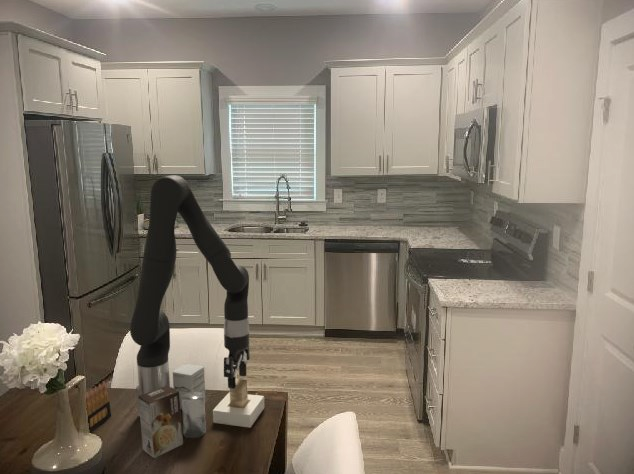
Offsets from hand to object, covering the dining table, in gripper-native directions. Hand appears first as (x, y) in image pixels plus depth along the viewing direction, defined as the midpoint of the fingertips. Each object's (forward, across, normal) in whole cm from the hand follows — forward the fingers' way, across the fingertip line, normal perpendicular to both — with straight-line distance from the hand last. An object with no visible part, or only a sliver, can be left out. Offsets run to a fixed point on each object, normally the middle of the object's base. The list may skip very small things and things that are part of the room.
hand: (237, 381), depth 154 cm
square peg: (+11, 0, 0) cm, 11 cm away
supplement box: (+12, -2, -18) cm, 21 cm away
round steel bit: (+11, +12, -8) cm, 18 cm away
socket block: (+11, 0, 0) cm, 11 cm away
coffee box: (+12, +21, -14) cm, 28 cm away
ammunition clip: (+12, +15, -40) cm, 44 cm away
